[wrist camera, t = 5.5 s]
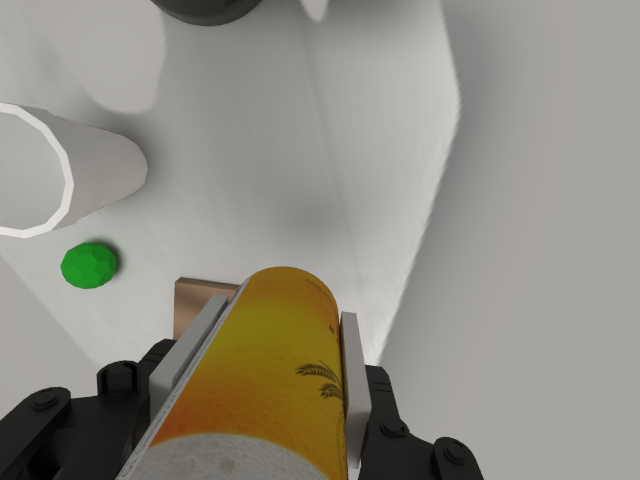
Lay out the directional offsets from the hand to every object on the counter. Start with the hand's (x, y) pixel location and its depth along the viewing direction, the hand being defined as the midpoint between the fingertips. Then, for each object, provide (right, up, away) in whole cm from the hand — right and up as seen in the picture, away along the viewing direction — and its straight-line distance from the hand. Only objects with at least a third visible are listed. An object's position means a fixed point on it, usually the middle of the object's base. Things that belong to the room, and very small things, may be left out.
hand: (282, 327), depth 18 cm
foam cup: (-20, +13, +18) cm, 30 cm away
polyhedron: (-23, +2, +21) cm, 32 cm away
